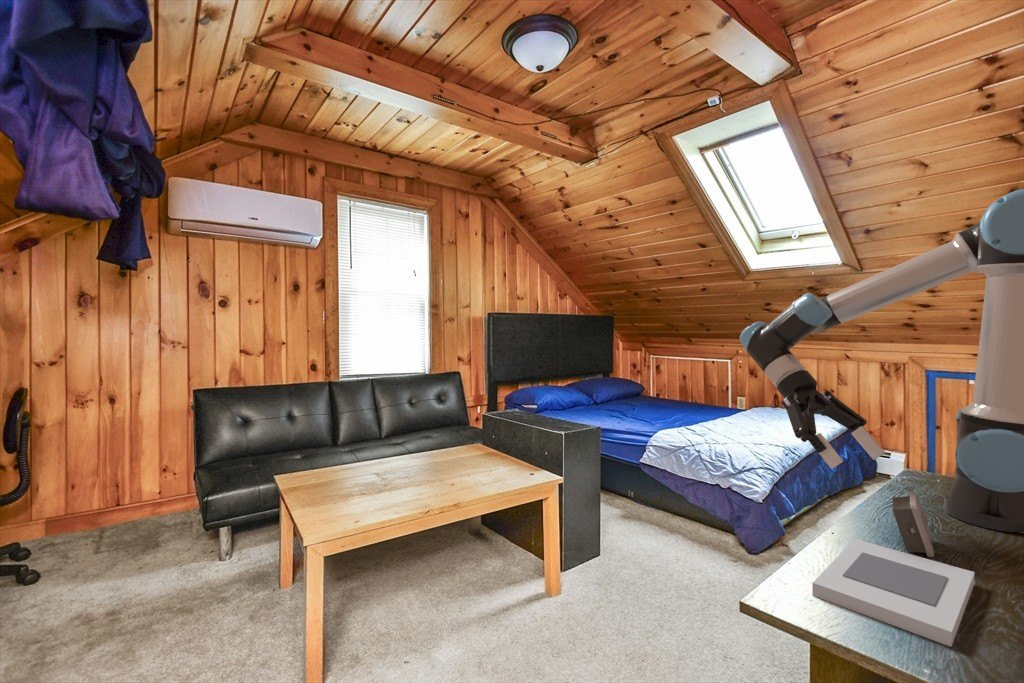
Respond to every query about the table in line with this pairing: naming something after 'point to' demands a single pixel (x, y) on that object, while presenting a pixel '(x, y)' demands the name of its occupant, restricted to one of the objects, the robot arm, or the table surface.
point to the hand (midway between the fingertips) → (859, 460)
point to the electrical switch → (912, 524)
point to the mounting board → (898, 589)
